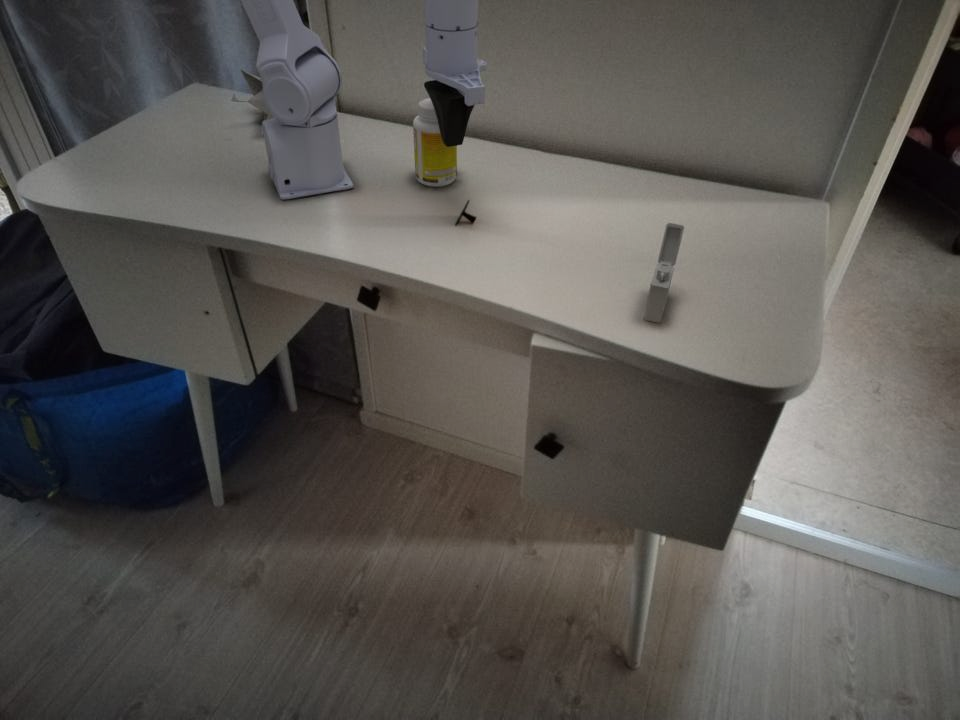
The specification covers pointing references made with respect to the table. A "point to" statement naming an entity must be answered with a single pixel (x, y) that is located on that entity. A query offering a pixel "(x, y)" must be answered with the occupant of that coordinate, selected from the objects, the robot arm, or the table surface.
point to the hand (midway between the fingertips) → (452, 143)
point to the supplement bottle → (432, 149)
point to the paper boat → (256, 95)
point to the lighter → (663, 273)
